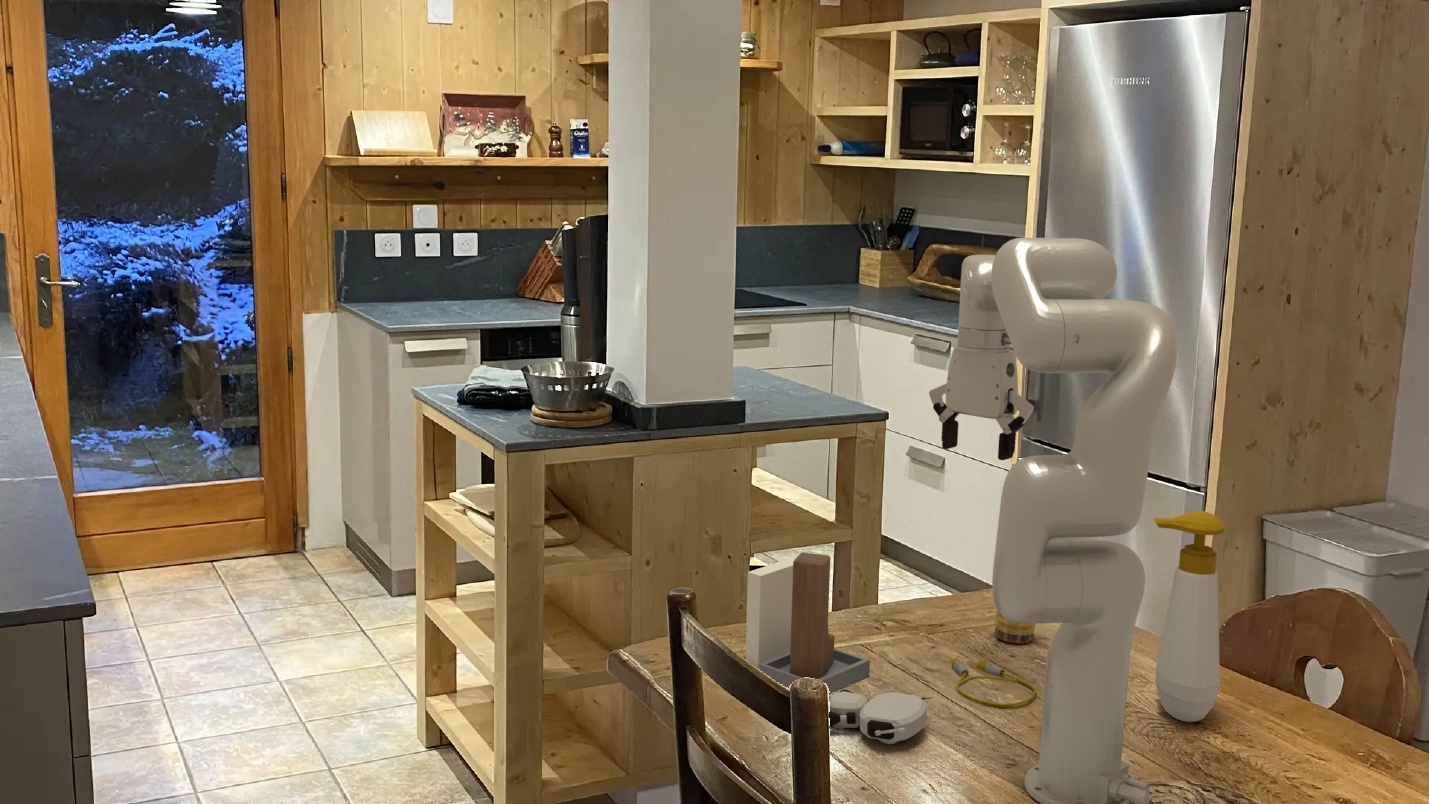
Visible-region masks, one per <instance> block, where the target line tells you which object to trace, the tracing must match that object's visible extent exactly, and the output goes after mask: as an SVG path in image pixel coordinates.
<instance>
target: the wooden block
mask: <svg viewBox="0 0 1429 804" xmlns="http://www.w3.org/2000/svg"><path fill="white" fill-rule="evenodd" d="M792 561H793V586H792V616H791V645H790V673H791V674H794V675H796V676H799V677H802V678H804V677H810V678H815V679H819V678H822V677H823V676H824V674H825V673H826V671H827V670H828V669H829V667H830V666H831V664H832V663H833V661H834V648H835V635H834V633H829V605H830V604H829V603H830V602H829V601H830V576H831V557H830V555H828V554H827V555H826V554H819V553H812V552H811V553H810V552H809V553H808V552H801V553H800V554H799V555H797V557H796V558H795V559H793V560H792Z"/></svg>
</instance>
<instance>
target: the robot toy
mask: <svg viewBox="0 0 1429 804" xmlns="http://www.w3.org/2000/svg"><path fill="white" fill-rule="evenodd" d="M828 695H829V702H830V712H829V718H830V728H831V727H833V726H834V729H842V730H843V729H845V728H848V729H849V728H850V729H852V728H853V729H856V728H858V727H859V730H860V732H861V733H862V734H863V735H865V736H866V737H867V738H869V739H874V740H878V741H879V742H881V743H883V744H884V745H885V744H886V745H893V744H896V743H898V742H901V741H905V740H907V739H910V738H912V737H913V736H915V735H916V734H917V733H919V732H921V730H923V729H924V728H925V726H926V724H927V721H928V719H927V717H928V715H927V713H928V712H927V711H928V710H927V703H926V702H925V700H933V699H934V697H935V696H933V695H928V696H923V697H920V696H919V695H915V694H909V693H908V694H907V693H901V692H894V691H893V692H892V691H891V692H886V693H881V694H878V695H876V696H874V697H873V698H871V699H867V698H866V696H865V695H863V694H860V693H859V694H858V693H856V692H853V691H851V690H849V689H844V688H843V689H839V690H837V691H835V692H832V693H831V694H828Z"/></svg>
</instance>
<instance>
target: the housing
mask: <svg viewBox="0 0 1429 804" xmlns="http://www.w3.org/2000/svg"><path fill="white" fill-rule="evenodd" d="M793 561H794V560H790V559H783V560H781V561H778V562H774V563H772V564H768V565H766V566H763V567H760V568H756V569H753V570H751V571H750V570H749V571H748V572H747V585H746V586H747V590H746V591H747V593H746V596H747V597H746V622H745V623H746V625H745V626H746V629H745V630H746V632H745V657H746V660H747V661H749V662H750V663H751V664H753V665H754V666H756V667H757V668H759V669H760V670H761V671H763V673H766V675H768V676H770V677H771V678H772V679H774V680H775V681H776V682H779V683H780V684H783V686H785V687H788V688H789V686H790V684H792V682H794V681H795V680H797V679H801V678H802V677H799V676H796V675H794V674H791V673H790V645H791V616H792V586H793ZM870 663H871V659H869V658H865V657H863V656H862V657H861V656H859V655H856V654H853V653H850V652H846V651H843V650H841V649H838V648H835V647H834V661H833V663H832V664H831V666H830V667H829V669H828V670H827V671H826V673H825V674H824V676H823V677H822V678H819V680H821V681H822V682H824V683H826V684H827V686H828V688H829V691H830V694H832V693H833V692H835V691H838V690H842V689H844V688H846V687H848V686H850V685H852V683H853V684H854V682H855V683H857V682H859V681H862V680H864V679H866V678H868V677H870V665H871V664H870ZM861 679H862V680H861ZM849 684H850V685H849ZM847 685H848V686H847ZM845 686H846V687H845ZM843 687H844V688H843Z"/></svg>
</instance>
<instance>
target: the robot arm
mask: <svg viewBox="0 0 1429 804" xmlns="http://www.w3.org/2000/svg"><path fill="white" fill-rule="evenodd" d="M1117 269H1118V268H1117V263H1116V260H1115V259H1114V256H1113V255H1112V254H1111V252H1110V251H1109V250H1108V249H1107V248H1106V247H1104V245H1103V244H1100V243H1099V242H1096V241H1093V240H1090V239H1086V238H1078V237H1077V238H1076V237H1069V238H1068V237H1066V238H1064V237H1063V238H1062V237H1054V238H1053V237H1017V238H1013V239H1009V240H1008V241H1007V242H1006V243H1004V244H1002V245H1001V247H1000V248H999V249H998V250H997V253H995V254H972V255H968V256H966V257H965V258H964V259H963V261H962V263H961V274H960V292H959V295H960V296H959V309H958V328H957V330H958V331H957V345H955V346H953V350H952V353H951V357H950V361H949V366H948V372H947V377H946V383H944V384H943V385H940V386H937V387H935V388H933V389H931V390H929V392H928V394H929V398H930V401H931V403H932V404H933V406H932V409H933V410H934V411H935V413H936V415H938V421H939V422H940V423H941V442H942V443H941V449H943V450H949V449H953V448H956V447H958V442H959V441H958V439H959V438H958V437H959V421H958V420H956V418H957V417H958V416H959V415H961V414H962V415H967V416H973V417H979V418H984V419H985V418H986V419H991V420H996V422H997V424H998V425H999V427H1000V429H1001V430H1002V432H1001V433H999V434H998V449H997V453H998V454H997V459H998V460H1000V461H1005V460H1009V459H1012V458H1013V457H1014V454H1015V451H1016V439H1017V433H1018V432H1019V431H1021V428H1023V426H1025V425H1026V424H1027V423H1028V421H1029V418H1030V417H1031V415H1033V414H1032V413H1033V412H1034V409H1035V406H1034V405H1033V404H1032V403H1030V402H1029V401H1028V400H1026V399H1025V398H1024V397H1023V396H1022V395H1020V394H1019V380H1018V379H1019V376H1018V365H1017V360H1018V362H1019V363H1020V364H1021V366H1022V367H1024V368H1025V369H1026V370H1028V371H1032V372H1034V373H1038V374H1109V378H1108V379H1107V380H1105V382H1103V383H1102V384H1101V385H1099V387H1097V389H1096V390H1095V391H1094V392H1093V393H1092V394H1091V396H1090V397H1089V398H1088V399H1087V401H1086V402H1085V403H1084V404H1083V406H1082V408H1081V409H1080V411H1079V413H1078V415H1077V419H1076V425H1075V426H1076V427H1075V435H1074V439H1073V440H1074V441H1073V445H1072V448H1071V450H1070V451H1069V452H1068V453H1066V454H1041V455H1040V454H1039V455H1030V456H1025V457H1022V458H1020V459H1019V460H1018V461H1016V462H1015V463H1014V464H1013V465H1012V466H1011V467H1010V469H1009V470H1008V472H1007V475H1006V476H1005V478H1004V482H1003V486H1002V490H1001V497H1000V498H1001V499H1000V505H999V514H998V523H997V530H996V531H997V532H996V539H995V549H994V556H993V564H992V565H993V567H992V576H991V577H992V578H991V579H992V580H991V581H992V583H991V585H992V586H991V587H992V597H993V601H994V605H995V608H996V610H998V611H999V613H1000V614H1001V615H1002V616H1003V617H1004V618H1006V619H1007V620H1009V621H1012V622H1016V623H1035V624H1061V625H1060V626H1059V627H1058V628H1057V630H1056V631H1055V633H1054V635H1053V637H1052V638H1051V640H1050V644H1049V646H1048V649H1047V654H1046V663H1045V675H1044V676H1045V677H1044V689H1043V705H1042V718H1041V731H1040V734H1041V735H1040V745H1039V746H1040V747H1039V759H1038V760H1039V762H1038V764H1036V765H1034V766H1032V767H1031V768H1029V769H1028V771H1027V772H1026V773H1025V777H1024V788H1025V790H1026V792H1027V793H1028V795H1029V796H1030V797H1031V798H1033V799H1034V800H1035V801H1036V802H1039V803H1040V804H1129V802H1130V804H1149V803H1150V801H1151V792H1150V791H1149V789H1150V784H1149V783H1148V782H1144V781H1141V780H1139V779H1135V778H1132V776H1131V775H1129V772H1130V763H1128V762H1126V761H1123V760H1122V755H1123V744H1124V743H1123V742H1124V731H1125V721H1126V720H1125V719H1126V709H1127V708H1126V706H1127V695H1128V693H1127V692H1128V682H1129V670H1130V660H1131V653H1132V652H1131V651H1132V650H1131V649H1132V644H1133V637H1134V632H1135V631H1134V630H1135V626H1136V622H1137V618H1138V615H1139V611H1140V608H1141V605H1142V602H1143V597H1144V594H1145V586H1146V573H1145V568H1144V565H1143V563H1142V560H1141V558H1140V556H1139V555H1138V554H1137V553H1136V552H1135V550H1133V549H1132V548H1130V547H1128V546H1126V545H1125V544H1122V543H1119V542H1117V541H1116V542H1115V541H1111V540H1100V539H1098V540H1097V539H1091V540H1090V539H1088V540H1087V539H1084V540H1083V539H1081V540H1080V539H1079V540H1074V539H1073V540H1061V541H1060V540H1059V541H1058V540H1056V541H1051V540H1052V539H1058V538H1062V539H1064V538H1100V537H1101V538H1102V537H1103V538H1104V537H1106V538H1107V537H1116V536H1122V535H1124V534H1128V533H1129V532H1131V531H1132V530H1134V529H1135V527H1136V526H1137V524H1138V522H1139V519H1140V517H1141V515H1142V510H1143V505H1144V499H1145V493H1146V486H1147V481H1148V473H1149V469H1150V468H1149V467H1150V461H1151V454H1152V447H1153V442H1154V441H1153V440H1154V434H1155V428H1156V424H1157V421H1158V419H1159V415H1160V414H1161V413H1160V412H1161V410H1162V407H1163V405H1164V402H1165V401H1166V398H1167V396H1168V393H1169V390H1170V388H1171V386H1172V381H1173V379H1174V374H1175V372H1176V366H1177V360H1178V359H1177V358H1178V342H1177V334H1176V330H1175V326H1174V323H1173V322H1172V319H1171V318H1170V316H1169V315H1168V313H1167V312H1165V310H1163V309H1162V308H1160V307H1158V306H1157V305H1154V304H1151V303H1149V302H1143V301H1139V300H1132V299H1112V298H1110V299H1106V297H1107V296H1108V295H1109V294H1110V292H1111V291H1112V290H1113V288H1114V287H1115V283H1116V281H1117V276H1118V275H1117V274H1118V270H1117ZM1011 346H1012V349H1013V350H1012V349H1010V348H1011ZM944 395H945V402H944V399H943V396H944ZM1018 410H1019V412H1018ZM1017 412H1018V415H1017V416H1016V417H1015V416H1014V415H1015V414H1017Z"/></svg>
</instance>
